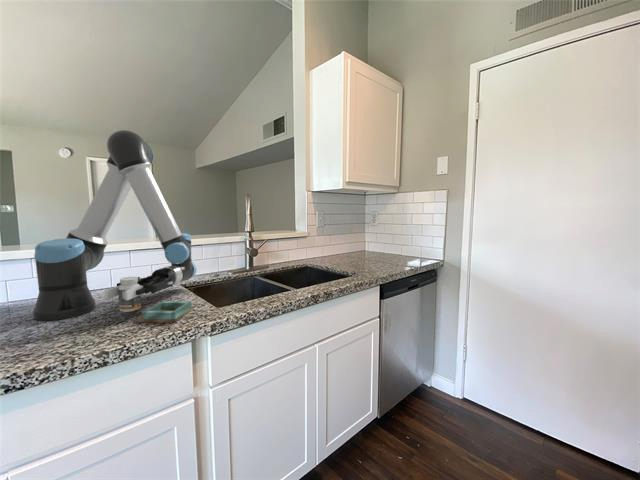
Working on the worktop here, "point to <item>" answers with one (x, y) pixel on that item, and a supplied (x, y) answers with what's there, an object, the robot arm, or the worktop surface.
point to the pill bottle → (124, 304)
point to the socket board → (165, 312)
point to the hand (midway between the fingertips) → (116, 295)
